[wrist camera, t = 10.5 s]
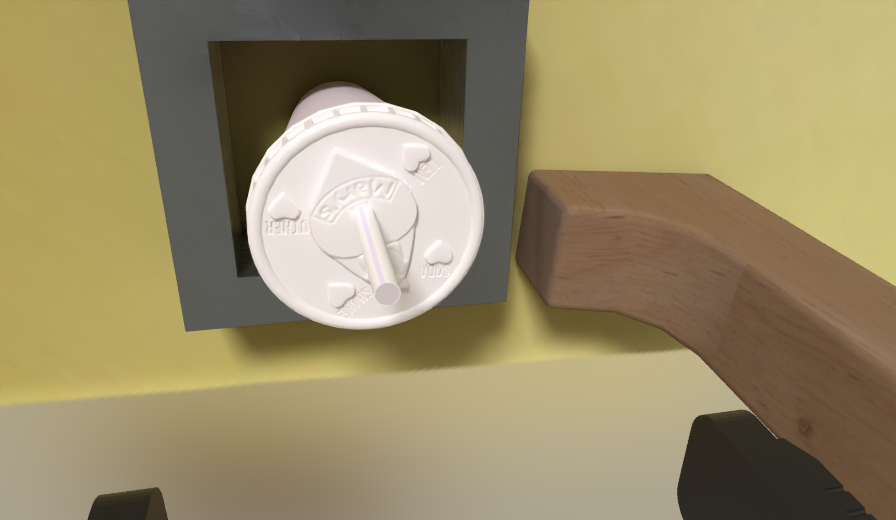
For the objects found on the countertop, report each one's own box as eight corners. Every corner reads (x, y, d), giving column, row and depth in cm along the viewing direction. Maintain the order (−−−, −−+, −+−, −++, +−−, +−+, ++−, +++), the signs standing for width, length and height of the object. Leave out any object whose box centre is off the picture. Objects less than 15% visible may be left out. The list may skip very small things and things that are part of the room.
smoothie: (387, 17, 25) (497, 117, 13) (441, 171, 28) (571, 368, 16) (223, 81, 24) (173, 246, 12) (296, 228, 28) (315, 476, 16)
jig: (495, -36, 25) (531, -28, 21) (479, 256, 30) (506, 301, 27) (145, -42, 22) (121, -33, 19) (196, 279, 28) (185, 331, 24)
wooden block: (511, 261, 31) (758, 621, 15) (526, 166, 29) (827, 468, 13) (686, 259, 33) (1057, 571, 17) (711, 171, 31) (1155, 434, 15)
